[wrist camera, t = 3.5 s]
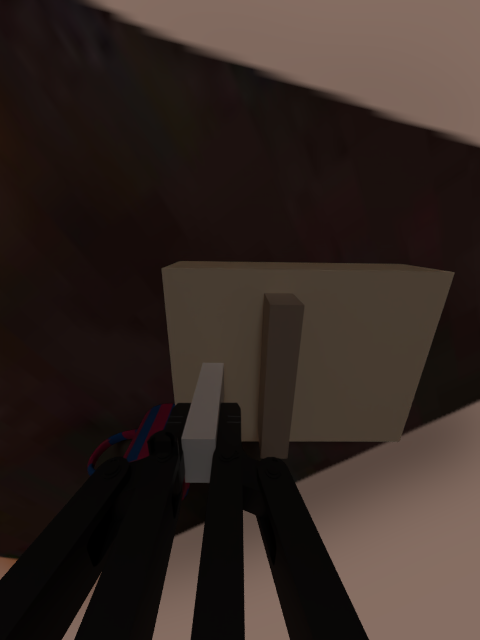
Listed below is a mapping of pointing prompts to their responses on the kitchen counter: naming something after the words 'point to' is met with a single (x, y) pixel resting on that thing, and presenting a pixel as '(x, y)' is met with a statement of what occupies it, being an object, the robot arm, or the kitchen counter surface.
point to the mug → (138, 438)
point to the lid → (306, 347)
